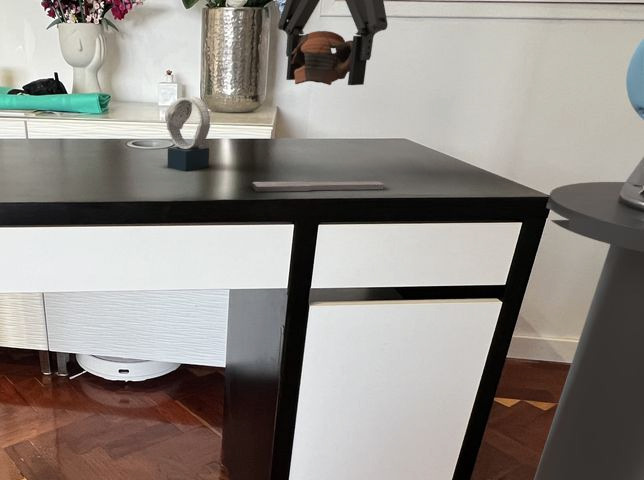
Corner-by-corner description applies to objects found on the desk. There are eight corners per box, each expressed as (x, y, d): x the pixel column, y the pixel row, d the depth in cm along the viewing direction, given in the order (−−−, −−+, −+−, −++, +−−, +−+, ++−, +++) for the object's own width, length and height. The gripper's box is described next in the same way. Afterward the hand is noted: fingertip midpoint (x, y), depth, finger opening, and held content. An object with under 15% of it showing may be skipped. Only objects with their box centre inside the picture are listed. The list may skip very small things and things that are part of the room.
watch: (182, 161, 112) (183, 94, 107) (216, 168, 106) (218, 98, 102) (159, 165, 108) (158, 96, 103) (192, 172, 103) (194, 100, 98)
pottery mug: (274, 86, 98) (281, 35, 98) (306, 111, 105) (312, 63, 105) (346, 67, 90) (352, 12, 90) (375, 96, 97) (381, 44, 97)
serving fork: (377, 186, 95) (378, 180, 95) (384, 190, 92) (385, 184, 92) (252, 187, 94) (252, 181, 93) (256, 191, 91) (256, 186, 91)
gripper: (261, -77, 96) (252, 78, 105) (395, -101, 78) (370, 88, 88) (296, -73, 99) (285, 76, 109) (432, -94, 82) (404, 86, 92)
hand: (323, 82), depth 99 cm, fingers closed on pottery mug, 12 cm apart
